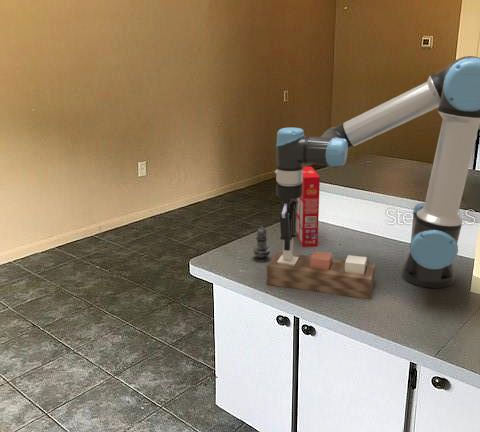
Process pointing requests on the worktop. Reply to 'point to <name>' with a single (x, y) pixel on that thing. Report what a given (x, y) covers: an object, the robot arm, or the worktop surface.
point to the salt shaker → (261, 246)
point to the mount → (321, 277)
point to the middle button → (321, 260)
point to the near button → (355, 264)
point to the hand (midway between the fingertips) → (287, 258)
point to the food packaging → (308, 209)
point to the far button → (288, 261)
